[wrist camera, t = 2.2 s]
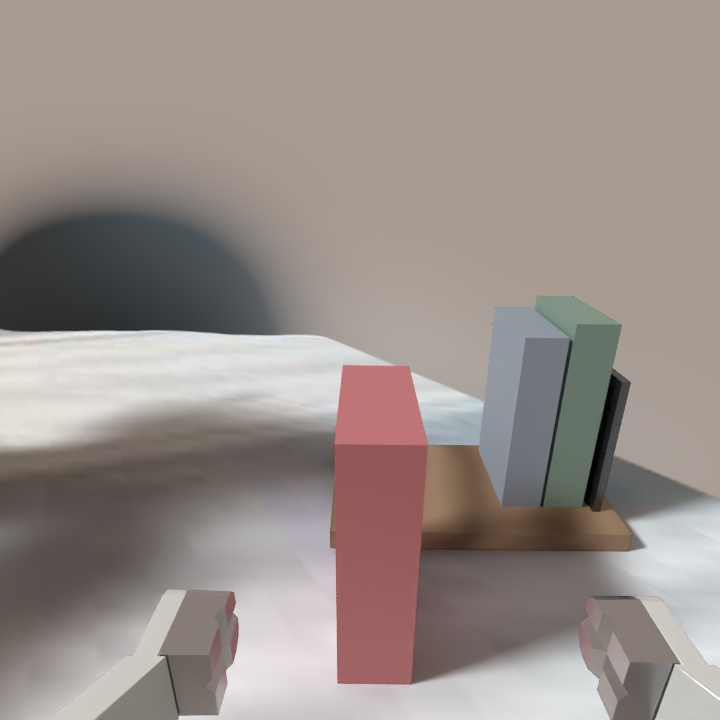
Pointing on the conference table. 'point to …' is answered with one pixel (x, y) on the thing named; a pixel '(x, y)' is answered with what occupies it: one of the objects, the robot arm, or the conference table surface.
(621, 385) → the bookend
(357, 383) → the tall pink pillar
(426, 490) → the board
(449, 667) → the conference table surface
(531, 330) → the shelved books
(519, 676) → the conference table surface
